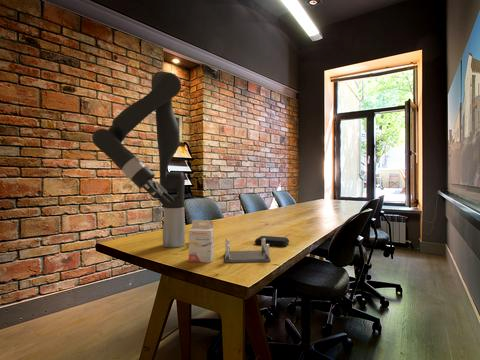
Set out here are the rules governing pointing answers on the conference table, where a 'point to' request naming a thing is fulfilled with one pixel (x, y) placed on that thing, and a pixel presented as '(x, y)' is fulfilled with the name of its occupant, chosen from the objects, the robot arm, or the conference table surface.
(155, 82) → the robot arm
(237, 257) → the standoff plate
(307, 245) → the conference table surface
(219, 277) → the conference table surface
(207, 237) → the ink cartridge box
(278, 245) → the carrying case or bag
